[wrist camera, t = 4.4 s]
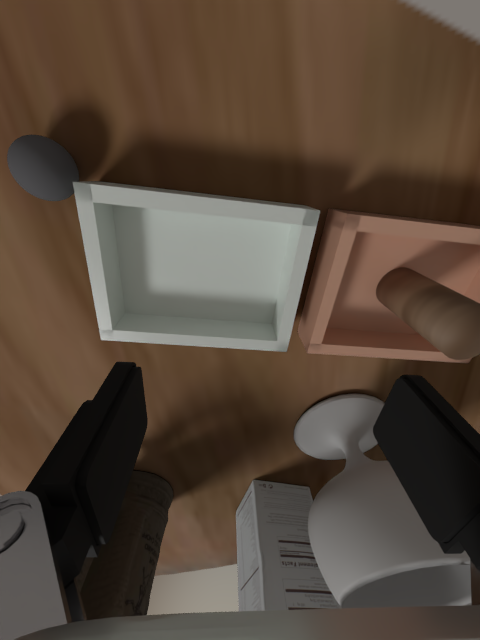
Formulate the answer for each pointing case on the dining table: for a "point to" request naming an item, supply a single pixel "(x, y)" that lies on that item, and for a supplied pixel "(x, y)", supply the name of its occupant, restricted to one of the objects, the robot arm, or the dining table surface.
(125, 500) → the beer stein
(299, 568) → the supplement box
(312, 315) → the terracotta tub
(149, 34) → the dining table surface
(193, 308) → the grey tub
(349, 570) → the chalice
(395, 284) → the walnut peg
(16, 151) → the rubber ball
